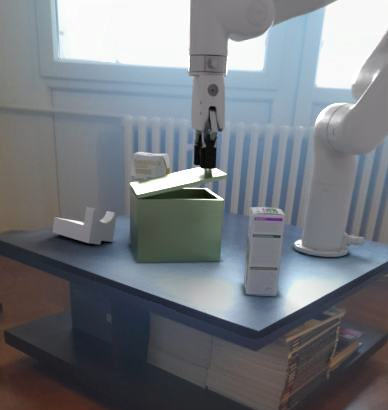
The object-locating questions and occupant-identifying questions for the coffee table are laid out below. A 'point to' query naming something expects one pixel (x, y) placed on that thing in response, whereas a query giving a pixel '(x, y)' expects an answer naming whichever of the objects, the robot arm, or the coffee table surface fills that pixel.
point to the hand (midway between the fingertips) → (204, 165)
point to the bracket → (88, 227)
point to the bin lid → (176, 181)
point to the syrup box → (264, 251)
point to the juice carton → (149, 166)
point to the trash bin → (176, 226)
